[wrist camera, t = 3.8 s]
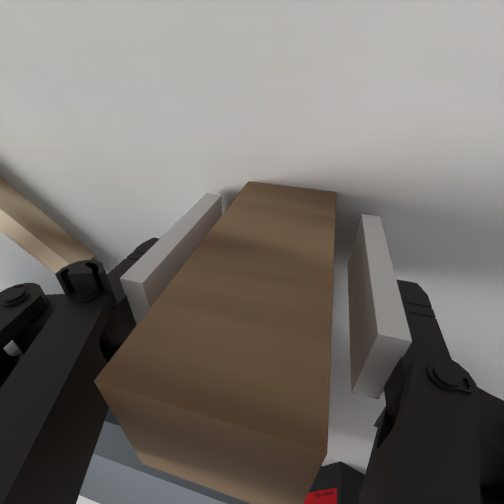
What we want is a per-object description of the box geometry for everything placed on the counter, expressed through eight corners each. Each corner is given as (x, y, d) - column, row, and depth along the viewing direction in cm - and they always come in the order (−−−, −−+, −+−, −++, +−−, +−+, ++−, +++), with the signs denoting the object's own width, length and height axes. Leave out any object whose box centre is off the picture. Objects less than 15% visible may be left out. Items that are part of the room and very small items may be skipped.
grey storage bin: (276, 417, 25) (249, 565, 17) (141, 377, 28) (69, 490, 20) (291, 323, 17) (255, 514, 10) (103, 281, 20) (-32, 406, 13)
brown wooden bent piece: (292, 395, 22) (265, 582, 14) (168, 361, 24) (84, 506, 16) (336, 192, 12) (326, 452, 4) (115, 165, 14) (-175, 298, 6)
